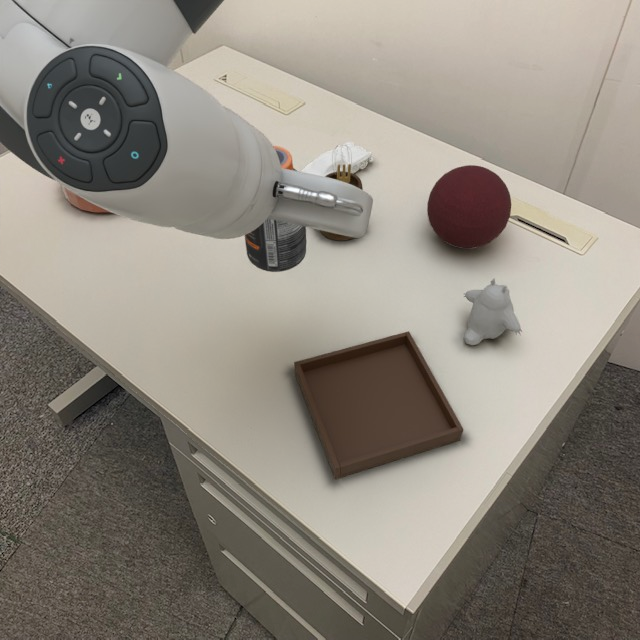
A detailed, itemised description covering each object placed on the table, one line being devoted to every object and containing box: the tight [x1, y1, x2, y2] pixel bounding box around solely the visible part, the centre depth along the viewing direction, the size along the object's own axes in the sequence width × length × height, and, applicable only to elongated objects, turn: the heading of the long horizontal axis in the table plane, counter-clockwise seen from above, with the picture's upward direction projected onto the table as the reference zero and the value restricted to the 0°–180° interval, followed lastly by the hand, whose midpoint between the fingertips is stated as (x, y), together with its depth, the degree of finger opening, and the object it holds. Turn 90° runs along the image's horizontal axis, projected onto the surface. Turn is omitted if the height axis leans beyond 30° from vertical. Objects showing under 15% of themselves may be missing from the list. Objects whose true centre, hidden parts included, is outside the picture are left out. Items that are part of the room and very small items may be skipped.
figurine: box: [463, 277, 523, 346], centre depth 69 cm, size 8×6×8 cm
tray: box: [293, 331, 465, 480], centre depth 65 cm, size 13×13×2 cm
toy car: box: [300, 141, 374, 177], centre depth 90 cm, size 5×12×4 cm, turn 134°
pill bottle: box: [244, 145, 307, 273], centre depth 60 cm, size 6×6×11 cm
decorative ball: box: [426, 164, 512, 250], centre depth 79 cm, size 10×10×10 cm
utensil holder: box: [319, 143, 364, 241], centre depth 79 cm, size 6×6×12 cm
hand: (275, 202), depth 60 cm, fingers closed on pill bottle, 6 cm apart
